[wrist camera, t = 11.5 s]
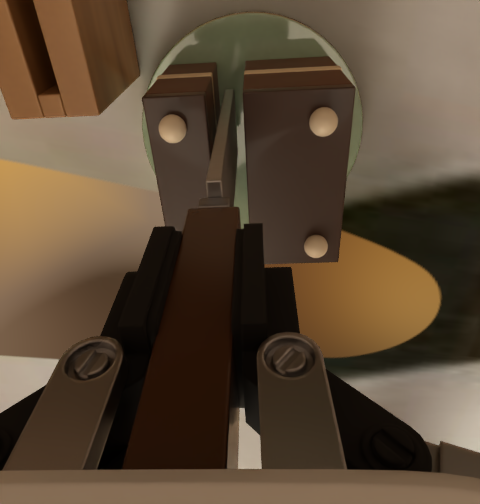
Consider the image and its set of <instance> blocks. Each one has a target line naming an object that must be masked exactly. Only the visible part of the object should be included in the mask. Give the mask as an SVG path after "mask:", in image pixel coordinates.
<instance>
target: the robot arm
mask: <svg viewBox="0 0 480 504" xmlns="http://www.w3.org/2000/svg"><path fill="white" fill-rule="evenodd" d="M181 239H182V231H176V230H175V227H174V226H164V227H154V228H153V231H152V234H151V236H150V239H149V242H148V244H147V247H146V250H145V252H144V255H143V258H142V261H141V264H140V266H139V269H138V271H137V272H127V273H126V275H125V277H124V279H123V281H122V284H121V286H120V289H119V291H118V294H117V296H116V299H115V301H114V303H113V306H112V308H111V311H110V313H109V316H108V318H107V321H106V323H105V325H104V328H103V331H102V333H101V335H100V336H97V337H90V338H87V339H85V340H81V341H80V342H78V343H76V344H74V345H72V346H71V347H70V348H69V349H68V350H67V351H66V352H65V353H64V354H63V356H62V357H61V358H60V360H59V362H58V364H57V365H56V367H55V369H54V371H53V373H52V375H51V377H50V379H49V381H48V383H47V385H45V386H44V387H42V388H41V389H39V390H37V391H36V392H34V393H32V394H31V395H29V396H28V397H26V398H24V399H23V400H21V401H19V402H18V403H16V404H15V405H13V406H11V407H10V408H8V409H7V410H5V411H3V412H2V413H0V504H480V453H478V452H475V451H472V450H468V449H465V448H462V447H459V446H455V445H452V444H449V443H446V442H442V441H440V444H439V446H438V445H435V444H432V443H429V442H425V441H424V440H423V438H422V437H421V436H420V435H419V434H418V433H417V432H416V431H415V430H414V429H412V428H411V427H410V426H409V425H407V424H406V423H404V422H403V421H401V420H400V419H398V418H397V417H395V416H394V415H393V414H391V413H390V412H388V411H387V410H385V409H384V408H382V407H381V406H379V405H378V404H376V403H375V402H374V401H372V400H371V399H369V398H368V397H366V396H365V395H363V394H362V393H360V392H359V391H357V390H356V389H355V388H353V387H352V386H350V385H349V384H347V383H346V382H344V381H343V380H341V379H340V378H338V377H337V376H335V375H334V374H333V373H331V372H330V371H328V370H327V369H326V368H325V364H324V359H323V355H322V352H321V350H320V348H319V346H318V345H317V344H316V343H315V342H314V341H313V340H312V339H310V338H308V337H307V336H305V335H302V334H300V331H299V323H298V315H297V308H296V300H295V293H294V286H293V285H294V284H293V277H292V269H291V267H274V268H264V245H263V223H249V224H244V229H236V246H235V262H234V279H233V296H232V313H231V328H232V335H233V337H234V348H235V359H236V369H237V380H238V391H239V402H240V408H245V416H246V423H247V424H248V425H249V426H250V427H252V428H253V429H254V430H255V431H256V432H257V433H258V434H259V435H260V440H261V461H262V469H143V470H121V469H122V465H123V461H124V457H125V454H126V450H127V446H128V442H129V438H130V434H131V430H132V426H133V422H134V418H135V415H136V411H137V407H138V403H139V399H140V395H141V391H142V387H143V383H144V379H145V375H146V372H147V368H148V364H149V360H150V356H151V352H152V348H153V344H154V340H155V337H156V336H157V335H158V331H159V327H160V323H161V319H162V315H163V311H164V307H165V303H166V299H167V295H168V291H169V287H170V283H171V279H172V275H173V271H174V267H175V263H176V259H177V255H178V251H179V247H180V243H181Z"/></svg>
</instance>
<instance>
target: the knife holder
mask: <svg viewBox="0 0 480 504" xmlns="http://www.w3.org/2000/svg"><path fill="white" fill-rule="evenodd" d="M139 76H140V72H139V67H138V61H137V55H136V50H135V44H134V39H133V33H132V28H131V22H130V17H129V11H128V6H127V0H0V88H1V91H2V94H3V97H4V99H5V102H6V105H7V107H8V110H9V113H10V116H11V118H12V119H32V118H44V117H46V118H53V117H66V116H67V117H75V116H96V115H100V114H101V113H102V112H103V111H104V110H105V109H106V108H107V107H108V106H109V105H110V104H111V103H112V102H113V101H114V100H115V99H116V98H117V97H118V96H119V95H120V94H121V93H123V92H124V91H125V90H126V89H127V88H128V87H129V86H130V85H131V84H132V83H133V82H134V81H135V80H136V79H137V78H138V77H139Z"/></svg>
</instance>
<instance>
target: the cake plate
mask: <svg viewBox="0 0 480 504" xmlns="http://www.w3.org/2000/svg"><path fill="white" fill-rule="evenodd" d="M324 56H329V57H330V58H331V59H332V60H333V61H334V63H335V64H336V65H337V66H340V67H341V68H342V72H343V73H344V74H345V76H346V77H347V78H348V79H349V80H350V81H351V83H352V84H353V85H354V86H355V88H356V90H355V99H354V109H353V119H352V129H351V139H350V149H349V159H348V169H347V176H348V175H349V173H350V171H351V169H352V167H353V164H354V162H355V160H356V157H357V154H358V151H359V148H360V142H361V137H362V125H363V116H362V104H361V100H360V95H359V91H358V88H357V85H356V83H355V80H354V77H353V75H352V73H351V71H350V70H349V68H348V66H347V64H346V62H345V61H344V60H343V58H342V57H341V56H340V55H339V53H338V52H337V51H336V49H335V48H334V47H333V46H332V45H331V44H330V43H329V42H328V41H327V40H325V39H324V38H323V37H322V36H321V35H320V34H318V33H317V32H316V31H314V30H313V29H311V28H310V27H308V26H306V25H304V24H303V23H301V22H299V21H297V20H295V19H292V18H289V17H286V16H282V15H279V14H274V13H268V12H248V11H247V12H239V13H232V14H228V15H225V16H221V17H218V18H215V19H213V20H210V21H208V22H206V23H204V24H202V25H200V26H198V27H197V28H195V29H194V30H192V31H191V32H189V33H188V34H186V35H185V36H184V37H183V38H182V39H181V40H180V41H179V42H178V43H176V44H175V45H174V46H173V47H172V49H171V50H170V51H169V52H168V53H167V55H166V56H165V57H164V58H163V60H162V61H161V63H160V64H159V66H158V68H157V69H156V71H155V73H154V75H153V77H152V79H151V82H150V84H149V86H148V90H149V89H150V88H151V86H152V85H153V84H154V83H155V82H156V78H157V77H158V76H159V75H161V74H162V73H163V72H164V71H165V70H166V68H167V67H168V66H169V65H175V64H194V63H212V62H216V63H217V75H218V87H219V100H220V111H221V106H222V101H223V97H224V92H225V90H227V89H234V96H235V112H236V128H237V144H238V158H237V171H236V185H235V198H234V207H236V206H237V207H239V209H240V221H241V229H244V224H249V215H248V194H247V174H246V153H245V133H244V112H243V82H244V69H245V61H250V60H268V59H287V58H305V57H324ZM148 90H147V91H148ZM142 130H143V138H144V145H145V149H146V152H147V156H148V159H149V161H150V164H151V166H152V169H153V171H154V173H155V167H154V162H153V156H152V151H151V146H150V140H149V135H148V129H147V124H146V118H145V113H144V107H143V115H142ZM155 174H156V173H155Z"/></svg>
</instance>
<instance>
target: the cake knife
mask: <svg viewBox="0 0 480 504" xmlns="http://www.w3.org/2000/svg"><path fill="white" fill-rule="evenodd" d="M237 158H238V144H237V128H236V112H235V96H234V89H227V90H225V92H224V97H223V101H222V106H221V111H220V116H219V121H218V125H217V130H216V135H215V140H214V145H213V149H212V154H211V159H210V164H209V169H208V173H207V178H206V189H207V198H201V199H200V200H199V204H198V208H190V209H188V211H187V215H186V219H185V223H184V227H183V231H182V239H181V243H180V247H179V251H178V255H177V259H176V263H175V267H174V271H173V275H172V279H171V283H170V287H169V291H168V295H167V299H166V303H165V307H164V311H163V315H162V319H161V323H160V327H159V331H158V335H157V336H156V337H155V340H154V344H153V348H152V352H151V356H150V360H149V364H148V368H147V372H146V375H145V379H144V383H143V387H142V391H141V395H140V399H139V403H138V407H137V411H136V415H135V418H134V422H133V426H132V430H131V434H130V438H129V442H128V446H127V450H126V454H125V457H124V461H123V465H122V469H121V470H143V469H238V444H239V408H240V402H239V391H238V380H237V369H236V359H235V348H234V337H233V335H232V328H231V313H232V296H233V279H234V262H235V246H236V229H241V221H240V209H239V207H237V206H236V207H234V198H235V185H236V171H237Z"/></svg>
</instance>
